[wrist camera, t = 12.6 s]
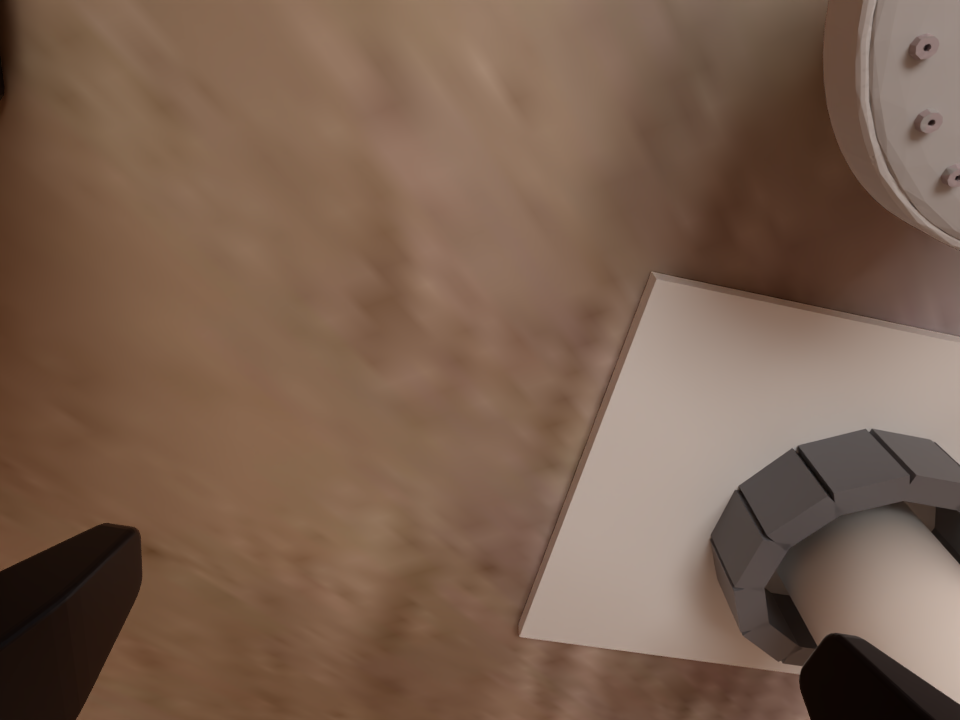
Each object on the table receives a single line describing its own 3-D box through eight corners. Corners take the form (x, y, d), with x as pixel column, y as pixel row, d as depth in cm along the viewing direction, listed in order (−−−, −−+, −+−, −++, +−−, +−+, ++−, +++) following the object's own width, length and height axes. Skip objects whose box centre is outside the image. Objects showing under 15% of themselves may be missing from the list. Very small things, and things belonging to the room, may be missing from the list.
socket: (518, 624, 26) (523, 692, 24) (651, 271, 19) (681, 314, 16) (943, 682, 29) (991, 750, 26) (1212, 390, 21) (1318, 444, 19)
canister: (769, 594, 25) (991, 1023, 14) (755, 498, 22) (1009, 929, 12) (908, 562, 24) (1248, 990, 14) (908, 459, 22) (1322, 883, 11)
